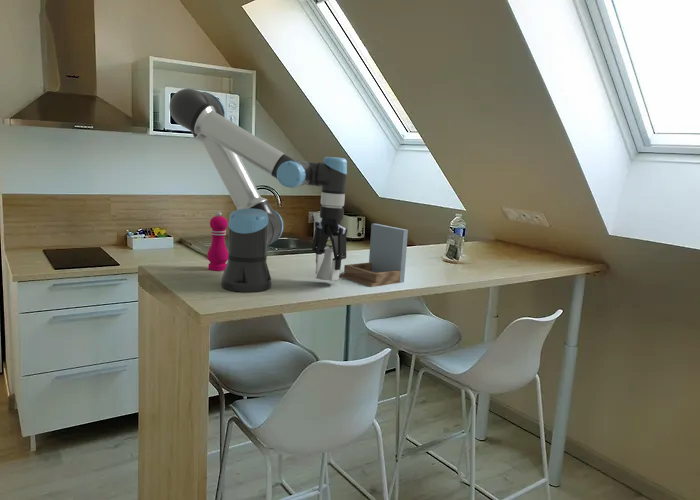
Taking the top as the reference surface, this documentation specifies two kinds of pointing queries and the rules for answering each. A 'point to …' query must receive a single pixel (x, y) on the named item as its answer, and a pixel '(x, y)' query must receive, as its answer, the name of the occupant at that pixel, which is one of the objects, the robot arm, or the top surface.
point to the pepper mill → (218, 243)
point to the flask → (326, 265)
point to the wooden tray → (369, 275)
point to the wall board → (388, 249)
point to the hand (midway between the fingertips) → (327, 276)
